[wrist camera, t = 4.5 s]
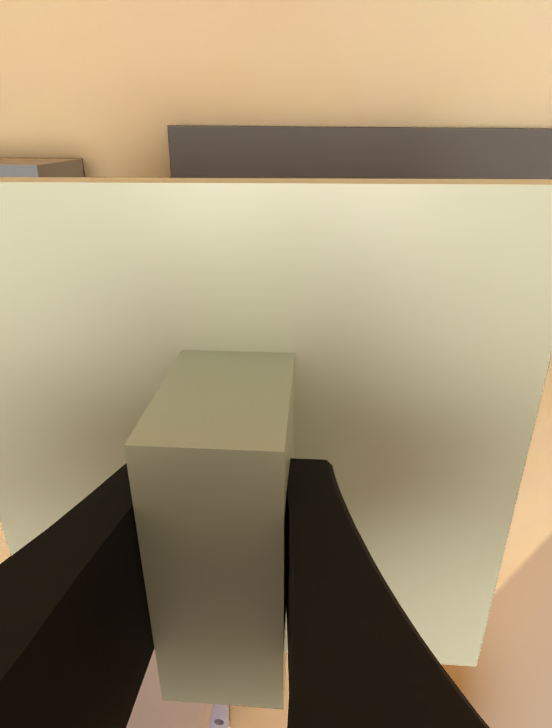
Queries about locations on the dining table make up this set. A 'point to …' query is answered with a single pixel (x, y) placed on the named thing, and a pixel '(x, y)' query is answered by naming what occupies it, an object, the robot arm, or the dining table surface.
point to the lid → (275, 389)
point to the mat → (359, 152)
